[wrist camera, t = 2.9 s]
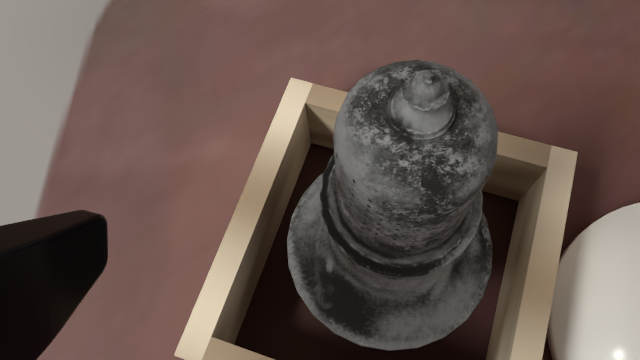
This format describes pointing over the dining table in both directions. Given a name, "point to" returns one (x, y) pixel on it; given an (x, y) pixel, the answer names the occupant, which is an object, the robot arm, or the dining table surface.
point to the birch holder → (318, 128)
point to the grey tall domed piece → (399, 210)
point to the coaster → (599, 292)
